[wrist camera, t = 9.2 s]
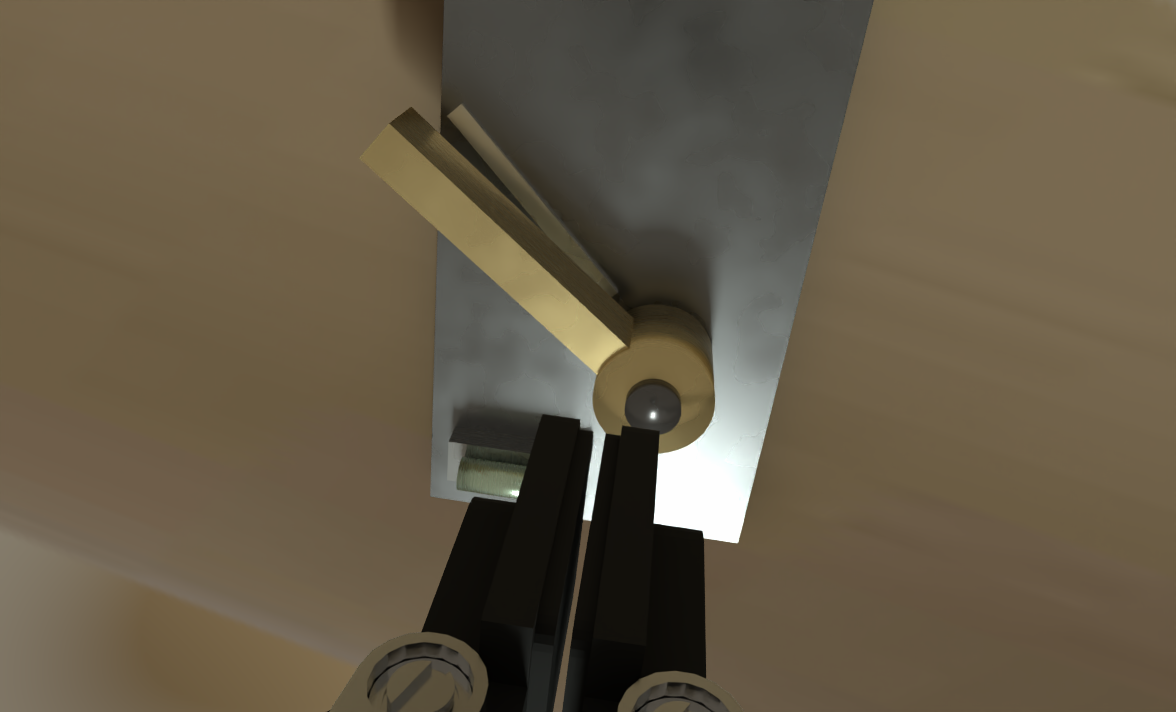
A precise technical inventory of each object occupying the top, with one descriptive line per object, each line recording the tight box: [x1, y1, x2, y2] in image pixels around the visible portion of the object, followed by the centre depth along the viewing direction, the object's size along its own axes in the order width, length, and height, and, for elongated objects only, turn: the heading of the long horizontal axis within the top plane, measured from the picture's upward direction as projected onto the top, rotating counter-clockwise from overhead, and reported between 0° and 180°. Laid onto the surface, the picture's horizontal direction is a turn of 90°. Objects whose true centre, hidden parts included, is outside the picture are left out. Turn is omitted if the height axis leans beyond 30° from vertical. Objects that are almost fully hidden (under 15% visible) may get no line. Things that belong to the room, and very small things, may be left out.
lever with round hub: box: [360, 107, 715, 454], centre depth 31 cm, size 4×15×4 cm, turn 46°
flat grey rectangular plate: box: [430, 0, 874, 543], centre depth 33 cm, size 14×23×4 cm, turn 174°
